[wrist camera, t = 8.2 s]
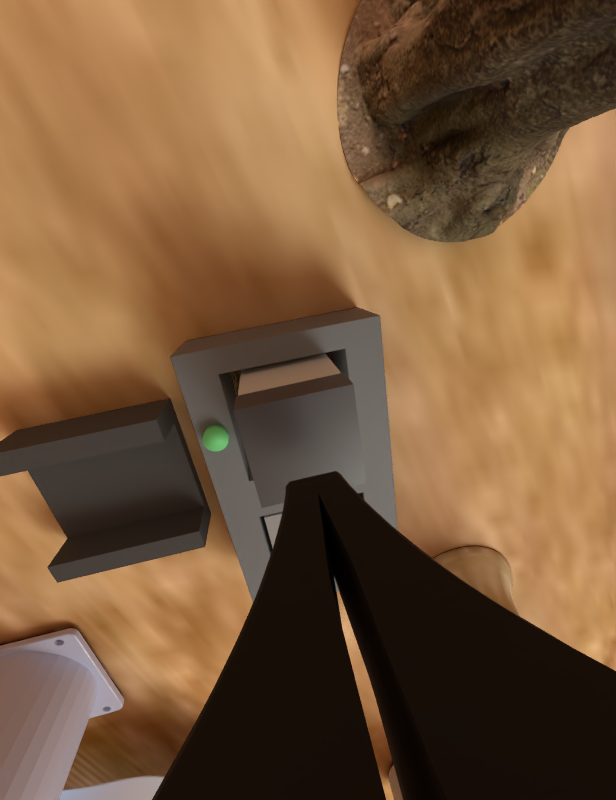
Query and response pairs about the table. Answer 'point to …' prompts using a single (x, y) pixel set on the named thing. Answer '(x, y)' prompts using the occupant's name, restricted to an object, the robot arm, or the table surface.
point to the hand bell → (482, 572)
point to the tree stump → (468, 103)
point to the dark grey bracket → (114, 486)
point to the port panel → (219, 434)
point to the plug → (298, 424)
